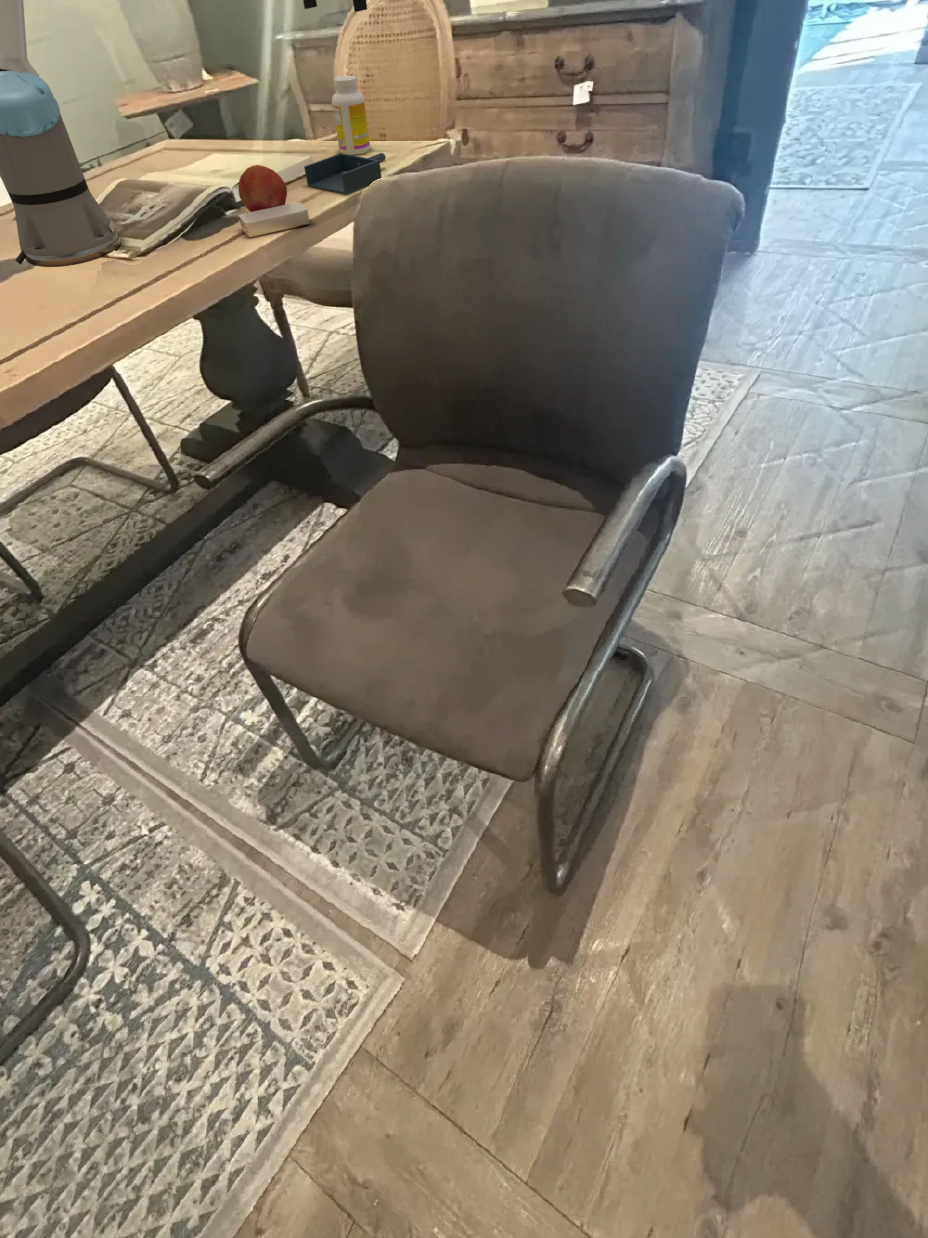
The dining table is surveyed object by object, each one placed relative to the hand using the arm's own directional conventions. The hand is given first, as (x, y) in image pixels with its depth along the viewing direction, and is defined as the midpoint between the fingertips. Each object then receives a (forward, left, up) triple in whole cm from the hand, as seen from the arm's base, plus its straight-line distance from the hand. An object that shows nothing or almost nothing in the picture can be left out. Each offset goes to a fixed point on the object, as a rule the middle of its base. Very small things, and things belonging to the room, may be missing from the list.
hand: (335, 9), depth 137 cm
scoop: (-6, -18, -23) cm, 30 cm away
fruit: (-26, -27, -17) cm, 41 cm away
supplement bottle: (0, 0, -24) cm, 24 cm away
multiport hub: (-28, -36, -21) cm, 50 cm away
